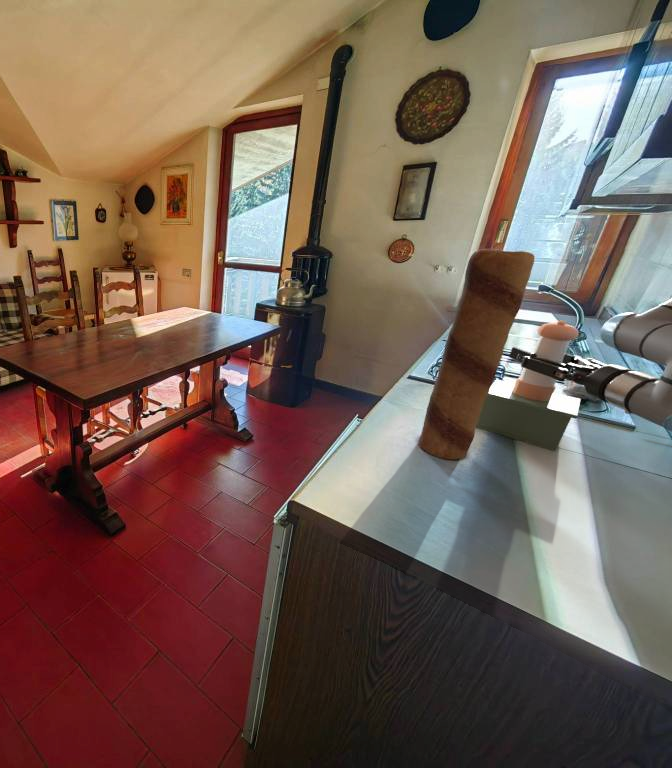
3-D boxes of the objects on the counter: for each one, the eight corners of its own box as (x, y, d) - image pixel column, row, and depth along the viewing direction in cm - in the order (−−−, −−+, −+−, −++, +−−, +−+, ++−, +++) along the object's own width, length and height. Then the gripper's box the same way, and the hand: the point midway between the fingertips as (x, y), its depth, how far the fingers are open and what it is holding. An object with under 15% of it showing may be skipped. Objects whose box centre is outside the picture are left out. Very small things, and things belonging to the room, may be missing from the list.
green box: (560, 431, 101) (575, 400, 98) (555, 451, 92) (571, 417, 89) (484, 411, 112) (495, 382, 109) (473, 426, 103) (484, 395, 100)
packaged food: (559, 397, 122) (566, 383, 120) (561, 387, 129) (568, 374, 127) (599, 407, 116) (607, 392, 114) (599, 396, 123) (606, 382, 122)
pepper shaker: (551, 395, 98) (584, 321, 91) (549, 404, 94) (584, 326, 86) (513, 387, 103) (542, 316, 96) (510, 394, 98) (540, 320, 91)
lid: (579, 401, 97) (580, 398, 97) (576, 418, 88) (577, 415, 88) (495, 382, 109) (496, 379, 108) (484, 395, 100) (485, 392, 99)
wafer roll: (408, 434, 99) (464, 247, 81) (456, 441, 96) (525, 249, 78) (420, 455, 90) (486, 250, 72) (473, 464, 87) (556, 252, 69)
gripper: (560, 402, 80) (482, 365, 101) (668, 406, 79) (566, 368, 100) (576, 368, 77) (492, 337, 98) (688, 372, 76) (579, 339, 97)
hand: (530, 352), depth 99 cm, fingers open, 8 cm apart
